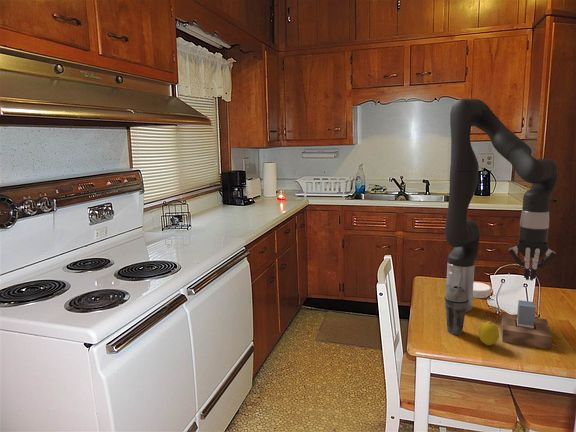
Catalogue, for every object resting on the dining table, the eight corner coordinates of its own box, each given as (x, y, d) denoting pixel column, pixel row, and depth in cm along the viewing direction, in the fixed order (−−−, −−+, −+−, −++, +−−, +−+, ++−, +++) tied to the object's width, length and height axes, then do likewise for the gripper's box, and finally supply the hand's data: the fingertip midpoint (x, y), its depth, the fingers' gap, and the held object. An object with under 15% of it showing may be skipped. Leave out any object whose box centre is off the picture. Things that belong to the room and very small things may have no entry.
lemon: (474, 342, 132) (476, 318, 130) (491, 340, 132) (493, 317, 131) (484, 350, 126) (486, 326, 125) (501, 349, 127) (503, 324, 125)
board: (502, 341, 132) (503, 329, 131) (501, 324, 143) (501, 313, 142) (550, 349, 126) (552, 337, 125) (545, 330, 138) (546, 319, 137)
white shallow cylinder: (490, 300, 164) (491, 291, 163) (462, 296, 168) (463, 288, 167) (490, 291, 172) (491, 283, 172) (464, 288, 177) (464, 280, 176)
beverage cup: (438, 329, 141) (440, 272, 137) (454, 325, 144) (457, 268, 140) (454, 338, 134) (457, 279, 130) (471, 334, 137) (475, 275, 133)
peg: (516, 337, 134) (519, 305, 132) (515, 331, 138) (518, 300, 136) (532, 340, 132) (535, 307, 130) (531, 334, 136) (534, 302, 134)
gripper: (509, 226, 127) (505, 280, 130) (562, 229, 121) (556, 286, 125) (508, 221, 134) (504, 273, 137) (558, 224, 128) (552, 278, 132)
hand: (529, 279), depth 131 cm, fingers closed
